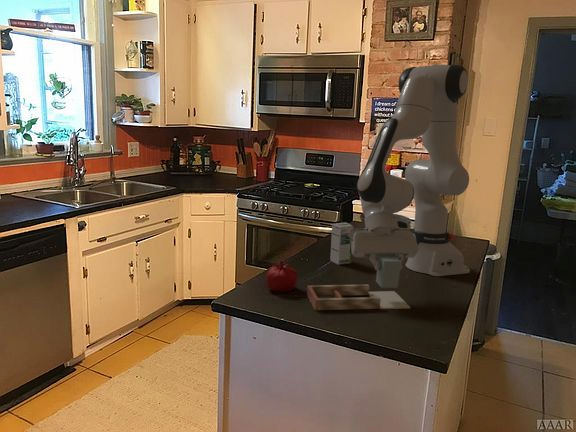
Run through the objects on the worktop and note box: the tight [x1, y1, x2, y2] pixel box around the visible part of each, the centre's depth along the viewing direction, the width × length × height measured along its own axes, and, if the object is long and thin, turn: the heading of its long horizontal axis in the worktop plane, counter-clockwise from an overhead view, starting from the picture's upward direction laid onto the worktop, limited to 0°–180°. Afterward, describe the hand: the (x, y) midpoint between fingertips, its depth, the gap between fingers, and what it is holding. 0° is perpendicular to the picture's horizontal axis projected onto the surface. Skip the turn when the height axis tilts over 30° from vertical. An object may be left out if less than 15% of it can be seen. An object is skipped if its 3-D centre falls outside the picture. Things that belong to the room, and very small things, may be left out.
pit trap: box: [306, 284, 343, 311], centre depth 141 cm, size 9×11×3 cm
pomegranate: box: [265, 260, 299, 293], centre depth 149 cm, size 10×10×9 cm
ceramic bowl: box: [359, 213, 412, 228], centre depth 212 cm, size 22×23×10 cm
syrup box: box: [330, 222, 354, 266], centre depth 177 cm, size 6×6×14 cm
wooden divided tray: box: [311, 283, 381, 311], centre depth 142 cm, size 18×11×3 cm, turn 99°
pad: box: [367, 290, 411, 310], centre depth 144 cm, size 9×12×1 cm
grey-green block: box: [375, 256, 401, 289], centre depth 142 cm, size 5×5×8 cm
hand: (389, 269), depth 141 cm, fingers closed on grey-green block, 5 cm apart
